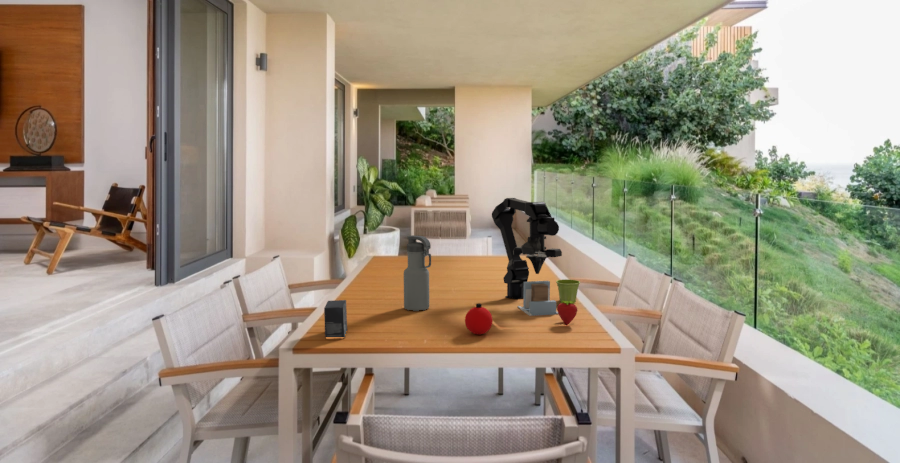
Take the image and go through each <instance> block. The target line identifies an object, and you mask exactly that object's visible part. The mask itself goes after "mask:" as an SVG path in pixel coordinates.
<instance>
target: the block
mask: <svg viewBox="0 0 900 463" xmlns="http://www.w3.org/2000/svg"><path fill="white" fill-rule="evenodd" d="M531 301H548V285H546V284H532V285H531Z"/></svg>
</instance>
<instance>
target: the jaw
mask: <svg viewBox="0 0 900 463" xmlns="http://www.w3.org/2000/svg"><path fill="white" fill-rule="evenodd" d="M532 284H546V285H548V301H551V300H550V299H551V281H549V280H531V281H527V282H524V295H523V298H522V299H523V300H522V301H523V303H522V304H523V306H522V307H523V308H524V309H529V302H531V285H532Z"/></svg>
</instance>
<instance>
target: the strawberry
mask: <svg viewBox="0 0 900 463" xmlns="http://www.w3.org/2000/svg"><path fill="white" fill-rule="evenodd" d="M559 302H560V303H559V304H558V305H556V311H557V312H558V314H557V315H558V316H559V318H560V319H561V321H562V322H563V323H564V325H566V326H568V325H570V323H571V322H572V321H573V320H574V319H575V317H576V316H577V313H578V307H577V306H576V302H574V301H569V299H568V301H562V302H561V301H559Z"/></svg>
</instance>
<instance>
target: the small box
mask: <svg viewBox="0 0 900 463" xmlns="http://www.w3.org/2000/svg"><path fill="white" fill-rule="evenodd" d="M323 313H324V314H323V315H324V318H323V319H324V337H345V338H346V336H345V334H346V335H347V333H346V331H347V332H348V316H347V313H348V312H347V300H346V299H342V300H341V299H336V300H327V301H326V304H325V306H324V308H323Z"/></svg>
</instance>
